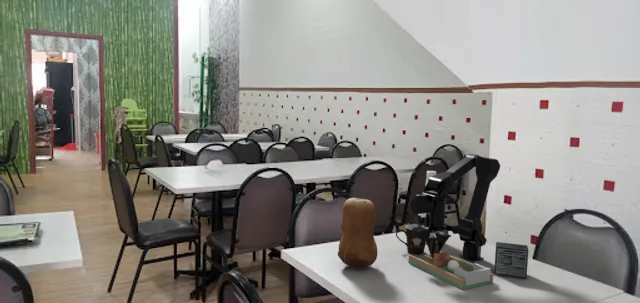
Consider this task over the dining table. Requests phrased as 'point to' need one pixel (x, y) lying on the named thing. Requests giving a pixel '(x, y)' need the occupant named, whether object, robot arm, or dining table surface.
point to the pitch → (456, 272)
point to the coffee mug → (413, 241)
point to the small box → (511, 260)
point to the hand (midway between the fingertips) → (434, 253)
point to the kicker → (437, 257)
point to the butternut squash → (358, 234)
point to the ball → (452, 265)
